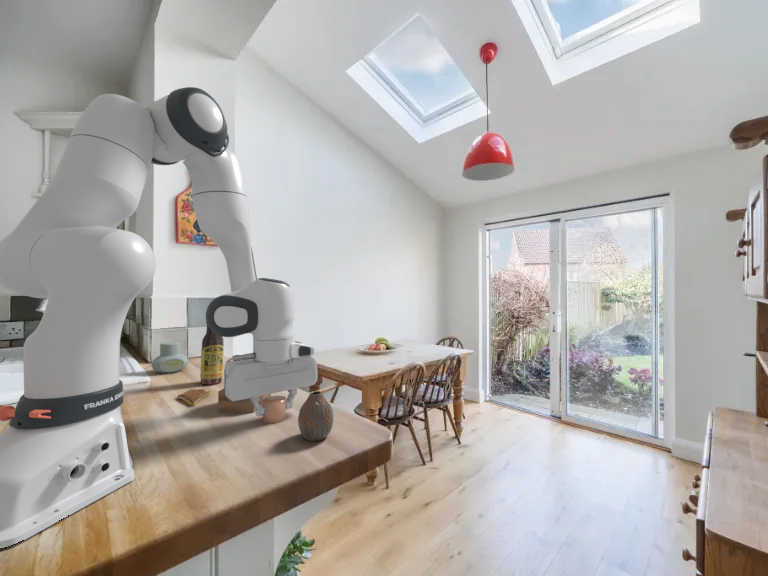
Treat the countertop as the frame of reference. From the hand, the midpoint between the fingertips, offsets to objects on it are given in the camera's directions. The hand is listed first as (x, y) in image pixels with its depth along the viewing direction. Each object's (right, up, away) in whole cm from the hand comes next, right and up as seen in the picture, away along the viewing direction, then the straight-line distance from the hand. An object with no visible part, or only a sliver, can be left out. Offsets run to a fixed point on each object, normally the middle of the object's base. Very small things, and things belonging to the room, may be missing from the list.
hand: (274, 411), depth 78 cm
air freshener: (-50, -2, +43) cm, 66 cm away
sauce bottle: (-28, -2, +29) cm, 40 cm away
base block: (-10, -2, +9) cm, 14 cm away
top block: (-10, +3, +9) cm, 14 cm away
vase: (+11, -2, -9) cm, 15 cm away
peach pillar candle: (0, -2, 0) cm, 2 cm away
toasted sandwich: (-25, -2, +14) cm, 29 cm away
